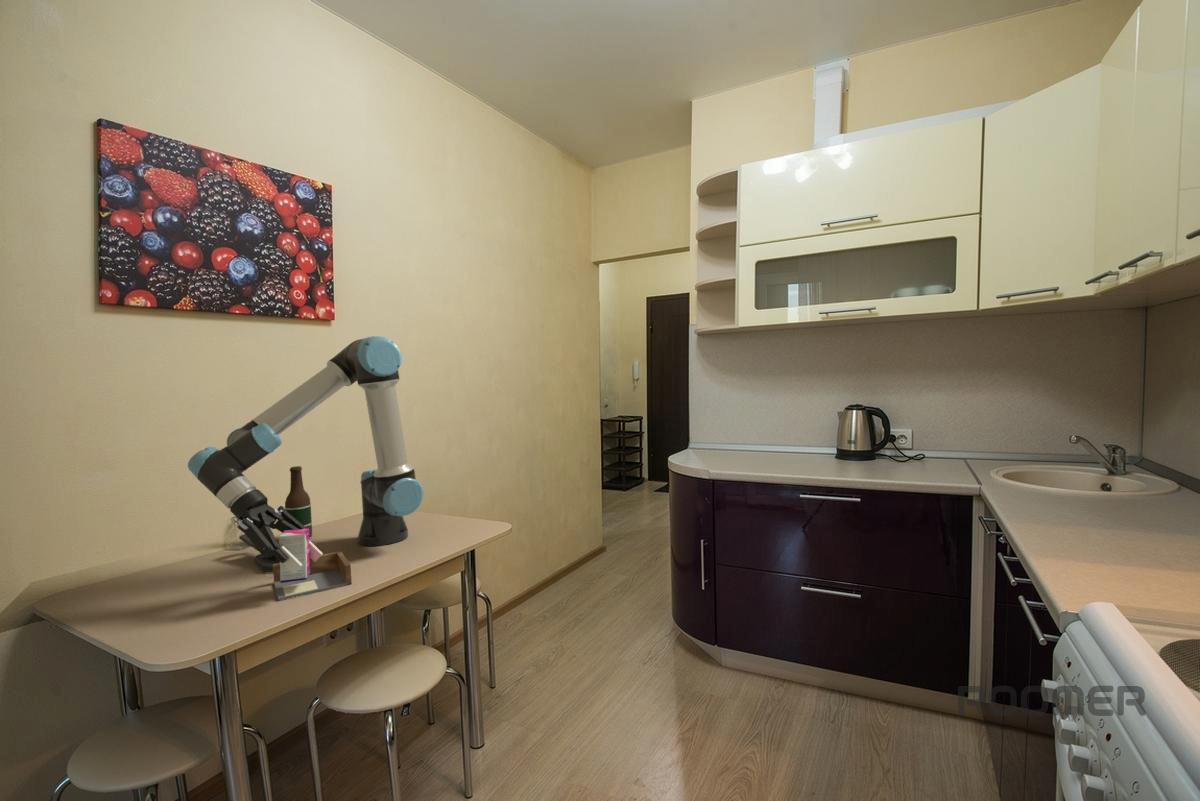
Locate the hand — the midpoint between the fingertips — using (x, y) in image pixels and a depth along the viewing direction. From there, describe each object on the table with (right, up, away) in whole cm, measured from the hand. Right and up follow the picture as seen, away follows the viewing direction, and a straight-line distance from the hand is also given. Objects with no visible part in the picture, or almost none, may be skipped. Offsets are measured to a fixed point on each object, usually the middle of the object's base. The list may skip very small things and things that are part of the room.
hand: (308, 563), depth 132 cm
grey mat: (-2, -7, +5) cm, 8 cm away
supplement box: (-3, -4, 0) cm, 5 cm away
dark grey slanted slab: (-25, -7, +24) cm, 35 cm away
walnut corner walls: (-2, -7, +5) cm, 8 cm away
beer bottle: (-28, -6, +46) cm, 54 cm away
